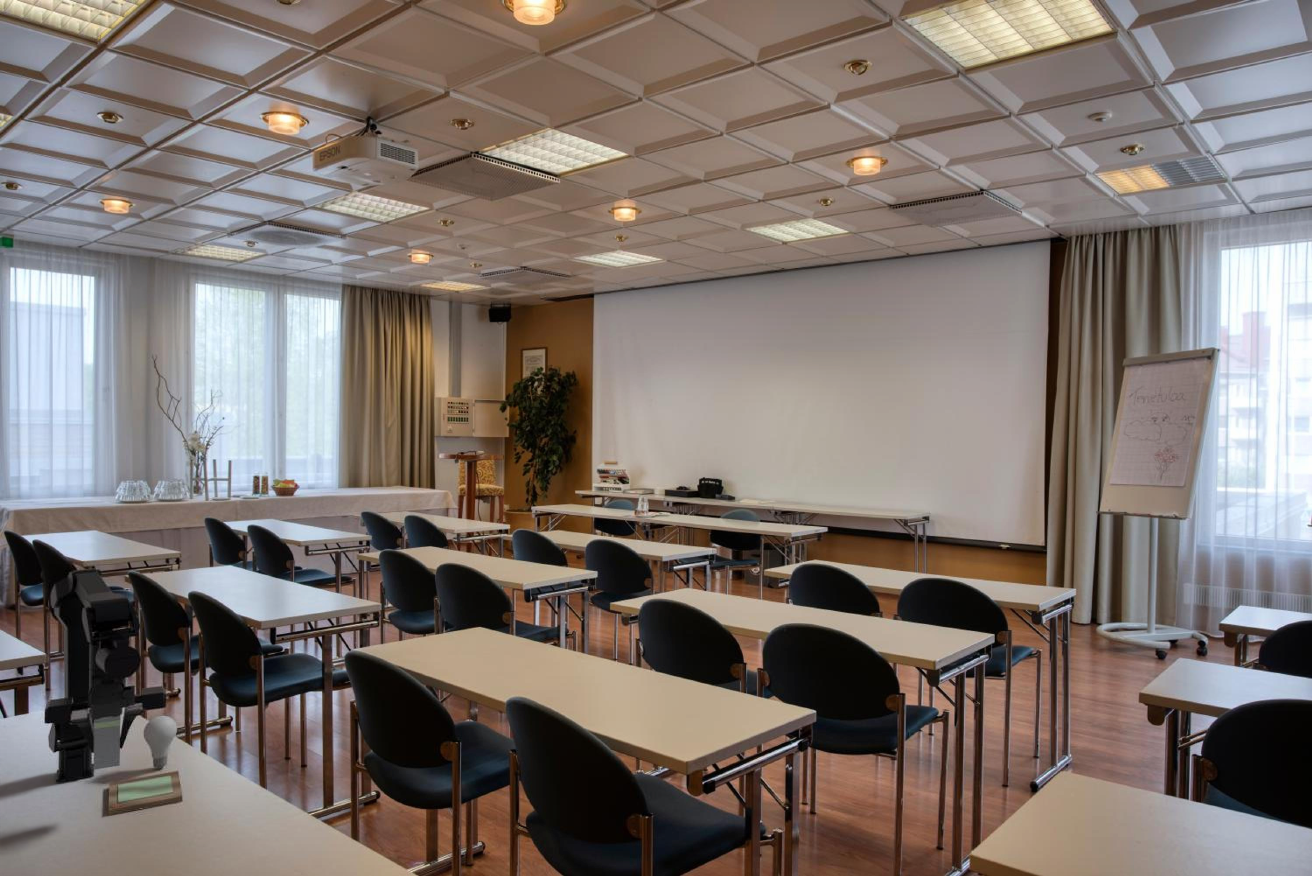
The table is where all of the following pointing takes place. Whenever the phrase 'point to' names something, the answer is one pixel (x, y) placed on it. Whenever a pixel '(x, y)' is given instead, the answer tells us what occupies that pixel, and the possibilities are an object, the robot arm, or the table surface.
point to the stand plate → (144, 792)
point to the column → (107, 742)
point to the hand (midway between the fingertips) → (107, 750)
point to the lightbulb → (160, 738)
